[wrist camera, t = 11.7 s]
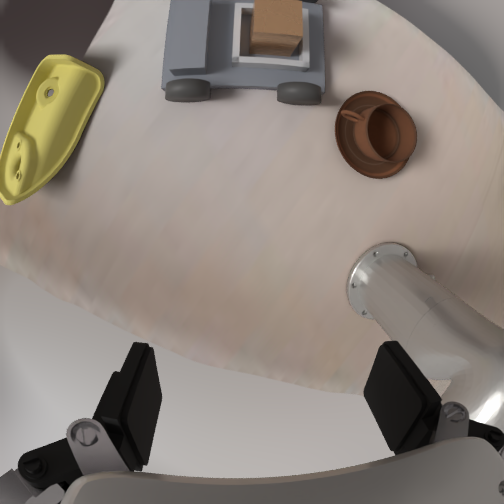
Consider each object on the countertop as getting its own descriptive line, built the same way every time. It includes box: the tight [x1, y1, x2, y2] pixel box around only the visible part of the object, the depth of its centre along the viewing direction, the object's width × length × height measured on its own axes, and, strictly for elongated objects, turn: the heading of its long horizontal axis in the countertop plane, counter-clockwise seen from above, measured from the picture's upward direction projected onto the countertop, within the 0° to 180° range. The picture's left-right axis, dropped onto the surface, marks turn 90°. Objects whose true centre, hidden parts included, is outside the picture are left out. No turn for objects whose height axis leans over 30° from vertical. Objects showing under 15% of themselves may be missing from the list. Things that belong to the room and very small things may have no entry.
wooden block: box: [249, 0, 303, 57], centre depth 25 cm, size 5×5×7 cm
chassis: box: [161, 0, 325, 105], centre depth 27 cm, size 20×18×5 cm
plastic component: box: [0, 55, 104, 205], centre depth 29 cm, size 20×8×10 cm
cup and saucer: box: [335, 91, 417, 179], centre depth 32 cm, size 12×12×6 cm
